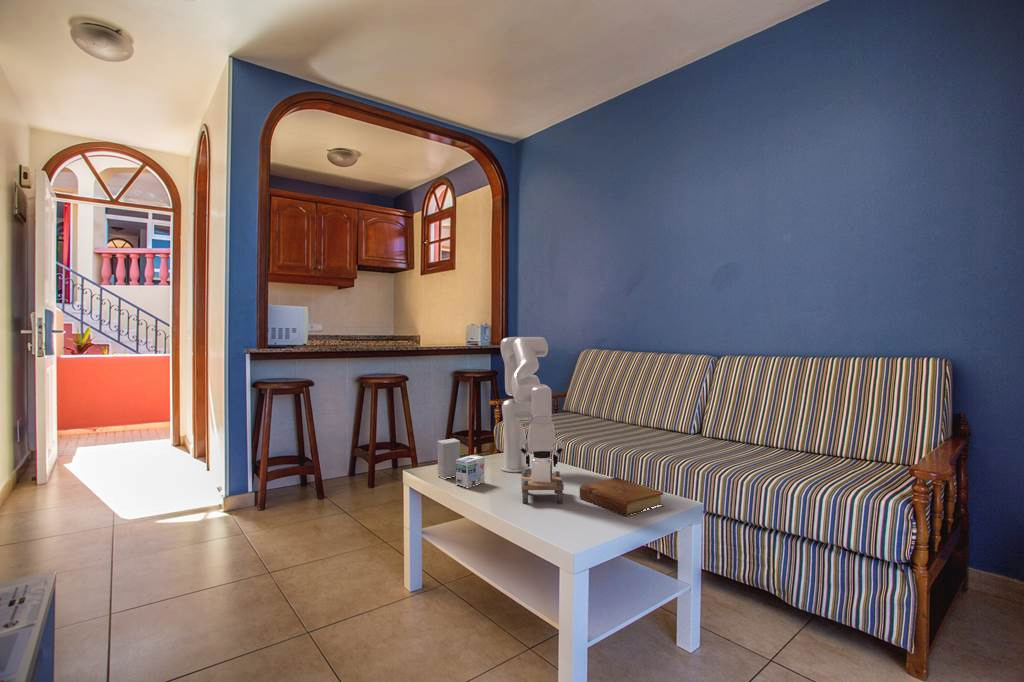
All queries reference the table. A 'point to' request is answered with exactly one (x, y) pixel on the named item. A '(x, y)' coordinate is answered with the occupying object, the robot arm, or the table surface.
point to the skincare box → (448, 457)
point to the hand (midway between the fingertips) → (541, 466)
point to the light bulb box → (469, 470)
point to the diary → (620, 495)
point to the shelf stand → (542, 486)
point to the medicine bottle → (541, 467)
